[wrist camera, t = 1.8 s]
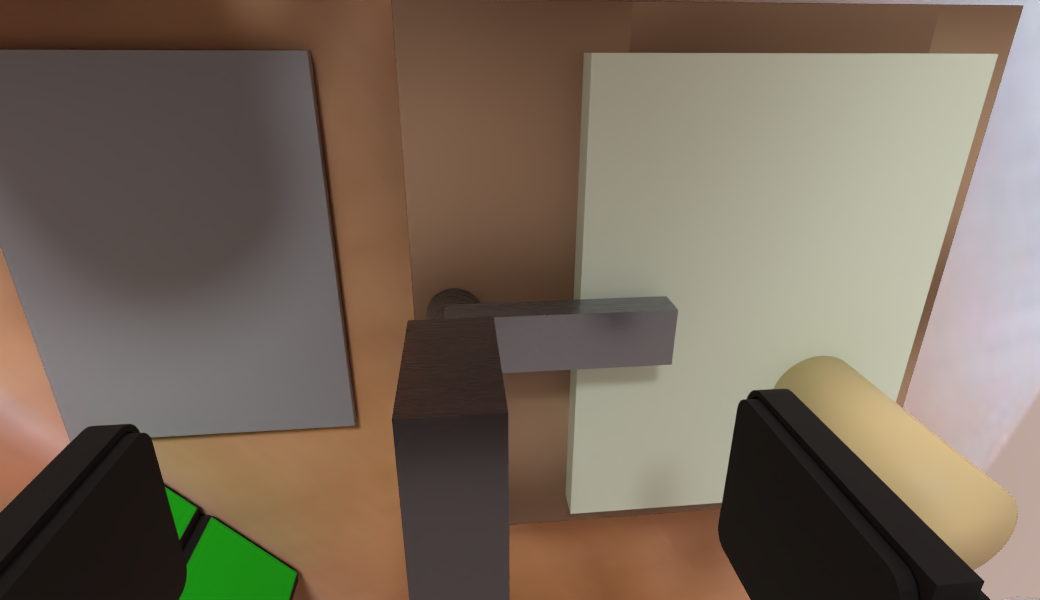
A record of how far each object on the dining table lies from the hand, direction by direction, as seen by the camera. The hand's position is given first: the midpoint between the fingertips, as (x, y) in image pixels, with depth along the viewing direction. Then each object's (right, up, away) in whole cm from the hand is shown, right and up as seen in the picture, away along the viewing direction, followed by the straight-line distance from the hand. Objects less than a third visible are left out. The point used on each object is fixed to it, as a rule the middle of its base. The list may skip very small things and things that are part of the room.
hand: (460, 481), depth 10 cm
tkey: (+2, +3, +5) cm, 6 cm away
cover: (+7, +3, +6) cm, 9 cm away
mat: (-10, +4, +10) cm, 15 cm away
